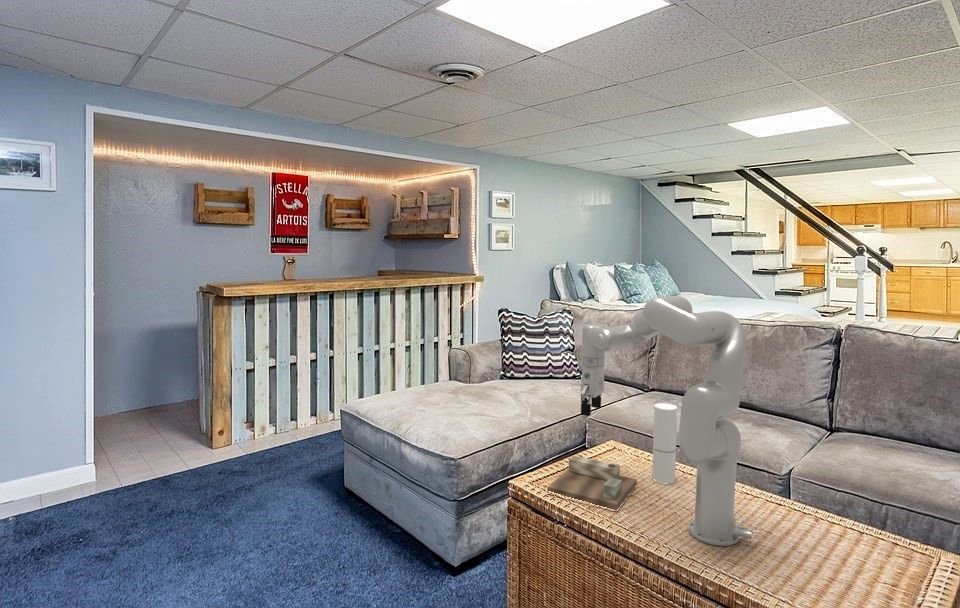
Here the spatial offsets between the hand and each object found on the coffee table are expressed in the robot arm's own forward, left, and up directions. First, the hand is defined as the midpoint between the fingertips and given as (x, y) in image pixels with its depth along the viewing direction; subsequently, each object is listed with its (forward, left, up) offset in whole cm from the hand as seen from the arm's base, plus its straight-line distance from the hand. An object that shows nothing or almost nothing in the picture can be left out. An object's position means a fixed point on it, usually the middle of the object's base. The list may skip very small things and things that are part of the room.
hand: (590, 411), depth 181 cm
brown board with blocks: (-5, +10, -22) cm, 25 cm away
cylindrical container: (-22, -10, -23) cm, 33 cm away
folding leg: (-3, +4, -20) cm, 20 cm away
